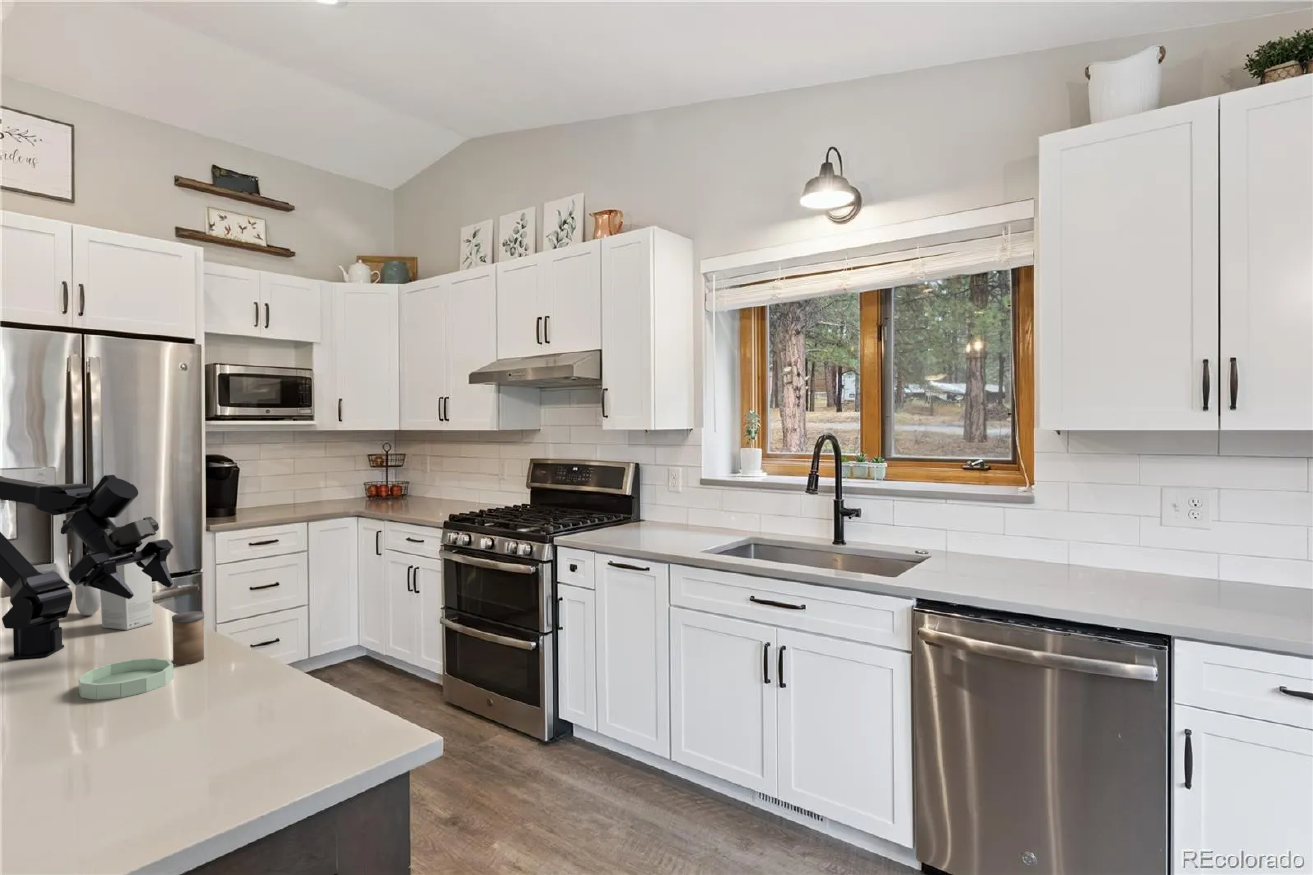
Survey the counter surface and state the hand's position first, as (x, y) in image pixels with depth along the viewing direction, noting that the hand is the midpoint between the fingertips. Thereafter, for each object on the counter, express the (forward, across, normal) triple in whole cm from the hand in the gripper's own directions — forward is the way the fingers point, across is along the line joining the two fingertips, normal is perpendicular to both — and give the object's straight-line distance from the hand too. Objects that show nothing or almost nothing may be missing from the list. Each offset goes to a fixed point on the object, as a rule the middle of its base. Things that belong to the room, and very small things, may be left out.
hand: (151, 591), depth 137 cm
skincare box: (-8, +20, +27) cm, 34 cm away
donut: (-20, +26, +38) cm, 51 cm away
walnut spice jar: (+15, 0, +4) cm, 15 cm away
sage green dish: (+14, -13, +5) cm, 20 cm away
